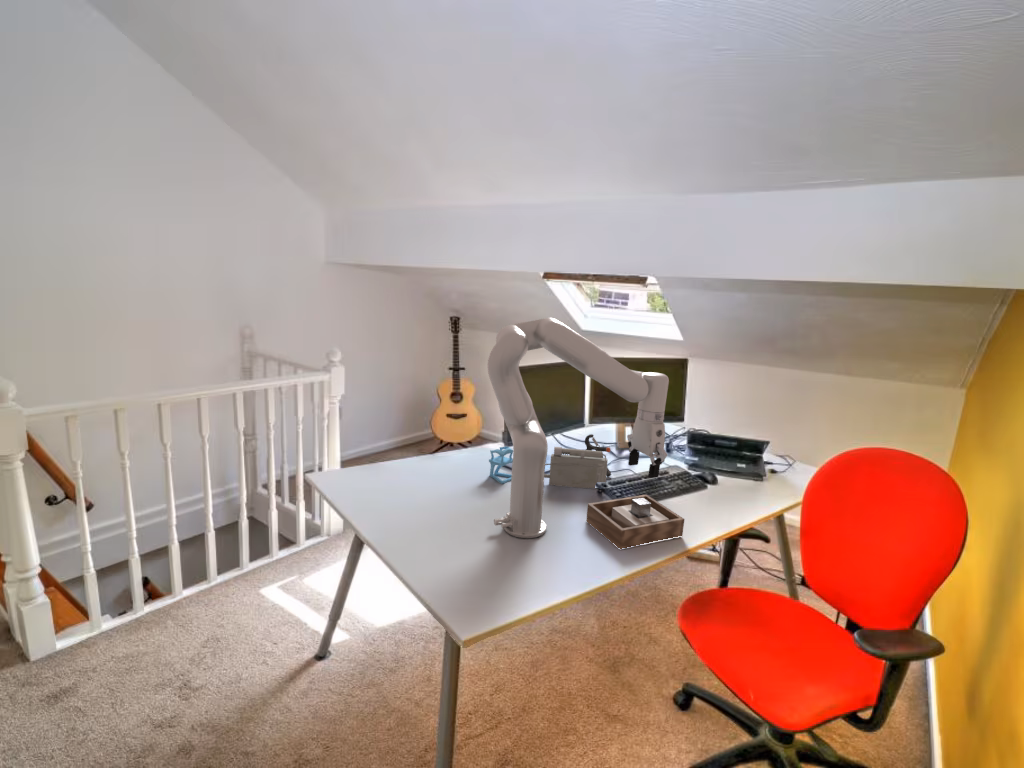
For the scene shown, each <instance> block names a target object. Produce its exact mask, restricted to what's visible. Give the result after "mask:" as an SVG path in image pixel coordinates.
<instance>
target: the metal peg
mask: <svg viewBox="0 0 1024 768" xmlns="http://www.w3.org/2000/svg"><path fill="white" fill-rule="evenodd" d="M650 509H651V503H650V502H649V501H647V500H646V499H644V498H639V499H632V505H631V514H633V515H634V516H635V517H637V518H638V519H639V518H645V517H650Z"/></svg>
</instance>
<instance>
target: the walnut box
mask: <svg viewBox="0 0 1024 768" xmlns="http://www.w3.org/2000/svg"><path fill="white" fill-rule="evenodd" d="M639 498H644V499H646V500H647V501H649V502H650V503H651V509H650V517H645V518H639V519H638V518H637V517H635V516H634V515H633V514H631V505H632V499H639ZM586 508H587V510H586V521H587V522H588V523H589V524H588V525H590V524H591V525H592V526H593V527H594V528H595V530H596V529H597V530H598V531H599V532H600V533H602V534H603V535H604V536H605V537H606V538H607V539H609V540H610V541H611V542H612V543H614V544H615V545H616V546H617V547H618V548H620V549H622V548H627V547H631V546H636V545H640V544H644V543H649V542H653V541H658V540H663V539H668V538H673V537H678V536H682V537H683V534H684V525H685V518H683V517H682V516H680V515H679V514H678V513H676V512H674V511H673V510H671V509H669V508H668V507H667V506H665V505H663V504H662V503H660V502H659V501H657V500H656V499H654V498H653V497H652V496H649V495H648V494H642V495H636V496H635V495H634V496H627V497H622V498H615V499H610V500H604V501H603V500H602V501H596V502H590V503H587V507H586ZM587 522H586V523H587ZM591 525H590V526H591ZM592 526H591V527H592ZM593 527H592V528H593ZM594 528H593V529H594ZM597 530H596V531H597ZM598 531H597V532H598ZM599 532H598V533H599ZM600 533H599V534H600ZM603 535H602V536H603ZM604 536H603V537H604ZM605 537H604V538H605ZM606 538H605V539H606ZM609 540H608V541H609ZM610 541H609V542H610ZM611 542H610V543H611ZM612 543H611V544H612ZM616 546H615V547H616ZM617 547H616V548H617ZM618 548H617V549H618Z"/></svg>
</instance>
